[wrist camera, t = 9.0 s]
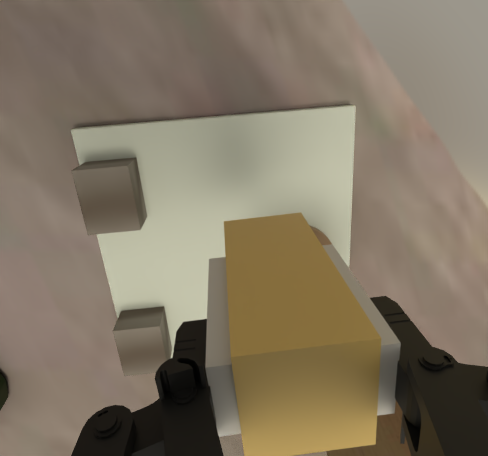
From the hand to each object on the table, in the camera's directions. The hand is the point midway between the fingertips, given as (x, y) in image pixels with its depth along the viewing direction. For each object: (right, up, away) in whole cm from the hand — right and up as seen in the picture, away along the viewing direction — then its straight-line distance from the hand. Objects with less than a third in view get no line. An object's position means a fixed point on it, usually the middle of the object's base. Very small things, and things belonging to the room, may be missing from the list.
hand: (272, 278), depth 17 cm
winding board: (-3, 0, +17) cm, 18 cm away
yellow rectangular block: (0, +1, +3) cm, 3 cm away
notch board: (-11, -1, +16) cm, 20 cm away
